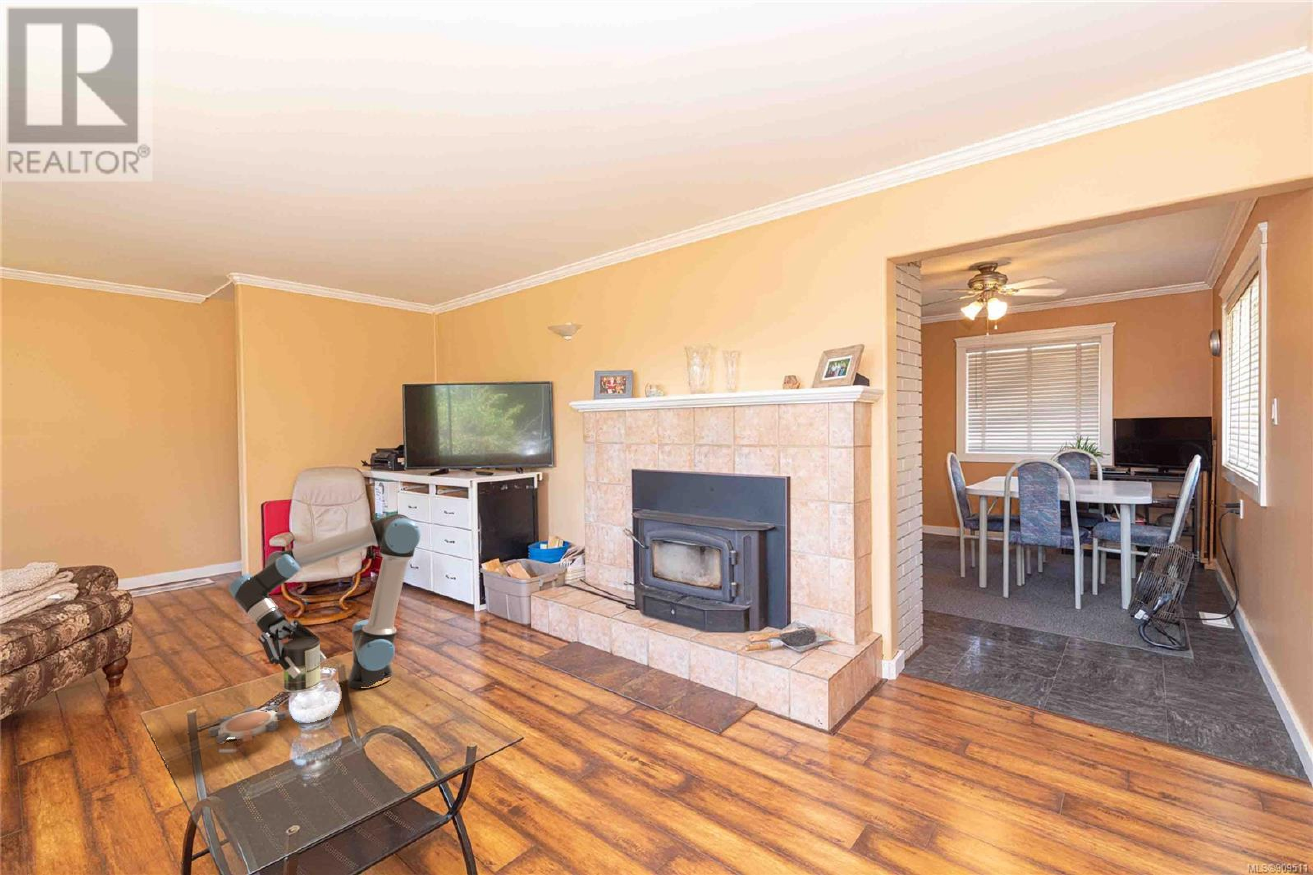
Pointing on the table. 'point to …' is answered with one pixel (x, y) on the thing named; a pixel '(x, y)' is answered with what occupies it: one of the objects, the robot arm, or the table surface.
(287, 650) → the coffee can
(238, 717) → the sprocket plate
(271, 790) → the table surface
